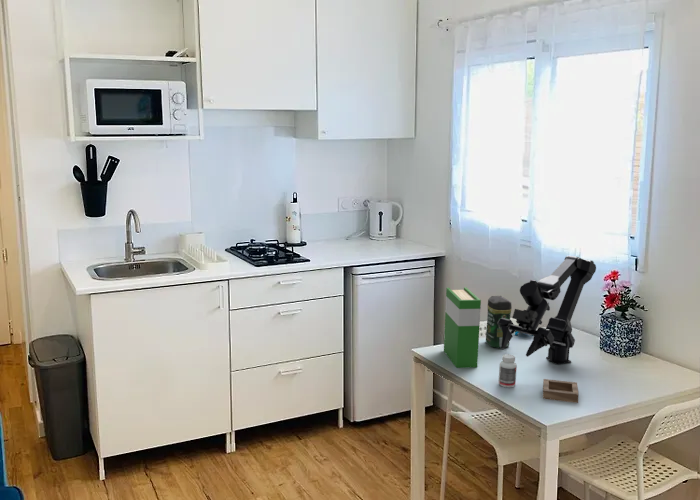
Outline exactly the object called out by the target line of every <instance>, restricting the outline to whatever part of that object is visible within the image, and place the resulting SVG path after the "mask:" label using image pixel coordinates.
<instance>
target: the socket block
mask: <svg viewBox="0 0 700 500" xmlns="http://www.w3.org/2000/svg"><path fill="white" fill-rule="evenodd" d="M542 382H543V383H542V399H543V400H550V401H559V402H568V403H576V404H577V403H579V395H580V394H579V388H578V387H579V386H578V382H577V381H569V380H558V379H548V378H543V381H542Z"/></svg>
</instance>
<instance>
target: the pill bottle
mask: <svg viewBox="0 0 700 500" xmlns="http://www.w3.org/2000/svg"><path fill="white" fill-rule="evenodd" d="M501 360H502V361H500V362H499V370H498V372H499V373H498V385H499V386H500V387H503V388H509V389H510V388H513V387H515V386H516V381H517V368H518V367H517V363H516V356H515V355H514V354H513V355H512V354H509V353H508V354H507V353H505V354H502V358H501Z"/></svg>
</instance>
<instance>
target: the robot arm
mask: <svg viewBox="0 0 700 500" xmlns="http://www.w3.org/2000/svg"><path fill="white" fill-rule="evenodd" d="M596 271H597V265H596V264H595V262H594V260H591V259H584V258H581V257H580V256H575V255H566V256H565V257H564V260H563V261H562V262H561V264H560V265H559V266H558V267H556V269H555V270H554V271H553V272H552V273H551V274H550V275H548V276H544V277H542V278H541V279H539V280H538V281H537V280H534V279H530V281H529V282H525V283H523V285H521V286H520V288H519V293H520V295H521V297H522V299H523V300H524V302H525V304H526V305H528V306H527V308H526V309H518V308H514V310H513V314H512V319H513V320H516V321H515V322H516V324H514V323H513V321H512V319H510V320H509V319H505V318H500V319H499V321H498V323H497V324H498V326H499V327H500V329H501V330H502V332H503V337H502V346H501V348H500V349H501V350H504V349H506V348H507V347H506V346H507V344H508V343H509V344H510V341H511V340H512V338H513V334H515V332H516V331H517V332H519V333H522V334H526V335H529V336H532V335H533V336H532V337H533V339H532V341H531V343H530V344H529V347H528V348H527V351H526V354H525V356H526V357H530V356H531V355H532V354H534V353H535V352H537V351H538V350H540V349H542V348H544V347H548V346H549V347H548V349H547V352H548V353H547V356H546V358H545V359H547V360H548V361H549V362H552V363H553V364H555V365H561V364H562V365H563V364H570V363H572V360H570V348H571V349H572V348H573V347H574V345H575V343H576V342H575V341H576V339H575V337H574V336H573V333H572V331H573V328H572V323H571V320H572V317H573V316H574V313H575V310H576V308H577V304H578V301H579V299H580V296H581V294H582V291H583V288H584V286H585V285H586V284H587V283H589V282H590V281H591V280H592V278H593V276H594V274H595V273H596ZM569 278H570V280H569V283H568V285H567V288H566V291H565V294H564V295H563V299H562V302H561V304H560V307H559V309H558V312H557V315H556V316H553V317H550V318H549V320H548V323H547V325H546V327H539V325H542V324H543V321H542V319H543V317H544V315H545V313H546V311H548V312H549V311H551V307H550V303H549V302H548V300H550V301H555V300H556V299H557V298H558V297H559V295H560V293H561V292H562V291H561V287H562V286H563V285H564V284H565V282H566V281H567V280H568V279H569Z"/></svg>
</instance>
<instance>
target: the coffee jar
mask: <svg viewBox="0 0 700 500" xmlns="http://www.w3.org/2000/svg"><path fill="white" fill-rule="evenodd" d="M511 313H512V302H511V301H510V300H509V299H507V298H505V297H503V296H502V295H491V296H490V297H489V298H488V299H487V319H486V331H485V332H486V333H485V342H486V343H487V344H488V345H489V346H490V347H491V348H498V349H502V348H501V346H502V337H503V332H502V330H501V329H500V327H499V326H498V324H497V323H498V321H499V319H500V318H505V319H509V320H511ZM509 346H510V342H509V343H508V344H507V346H506V347H505V348H507V347H509Z"/></svg>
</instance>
